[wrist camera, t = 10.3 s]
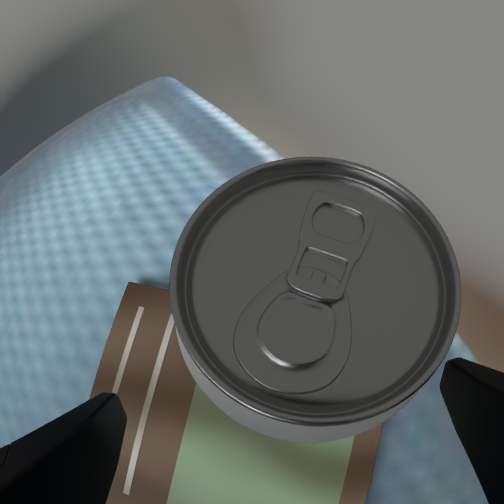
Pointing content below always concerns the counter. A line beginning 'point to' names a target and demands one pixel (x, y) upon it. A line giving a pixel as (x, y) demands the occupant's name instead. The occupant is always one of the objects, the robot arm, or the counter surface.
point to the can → (313, 298)
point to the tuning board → (207, 429)
